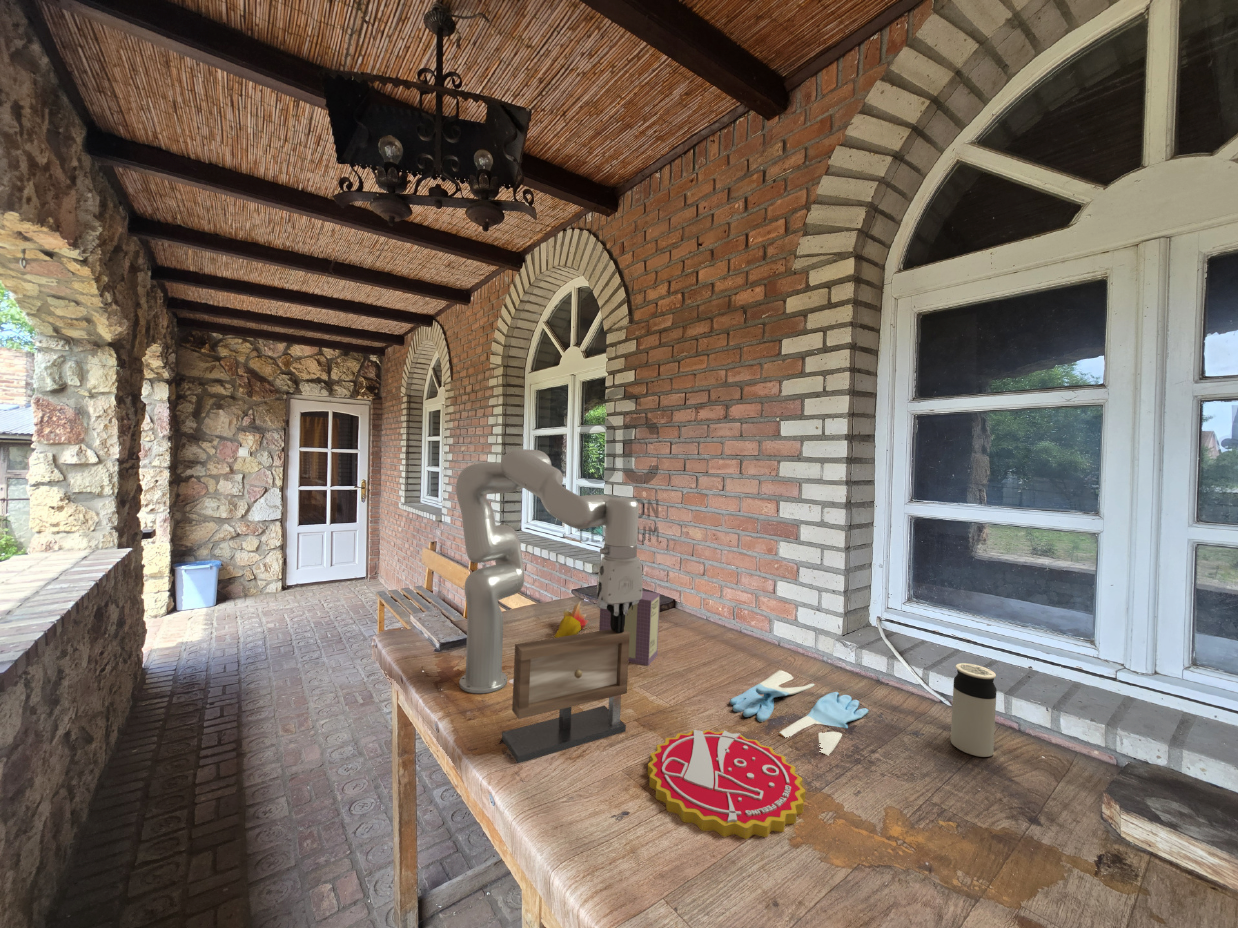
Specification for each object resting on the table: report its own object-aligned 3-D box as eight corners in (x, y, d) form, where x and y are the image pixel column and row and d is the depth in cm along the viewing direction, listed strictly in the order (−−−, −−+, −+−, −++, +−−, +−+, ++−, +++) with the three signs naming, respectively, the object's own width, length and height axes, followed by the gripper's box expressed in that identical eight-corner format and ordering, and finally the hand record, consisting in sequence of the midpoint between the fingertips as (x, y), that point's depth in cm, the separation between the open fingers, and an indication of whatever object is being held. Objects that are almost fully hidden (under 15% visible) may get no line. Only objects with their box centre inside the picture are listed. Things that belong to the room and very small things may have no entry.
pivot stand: (501, 738, 111) (504, 666, 111) (604, 711, 124) (606, 647, 124) (517, 763, 102) (520, 685, 102) (625, 731, 116) (628, 662, 116)
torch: (554, 659, 164) (575, 625, 188) (575, 651, 162) (594, 617, 186) (542, 637, 163) (565, 605, 188) (563, 628, 161) (583, 597, 186)
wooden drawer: (512, 710, 106) (515, 644, 105) (617, 686, 119) (620, 627, 119) (519, 720, 102) (522, 651, 102) (628, 694, 115) (631, 633, 115)
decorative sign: (658, 719, 117) (793, 739, 111) (657, 730, 117) (792, 751, 111) (637, 806, 88) (818, 840, 82) (636, 822, 88) (818, 856, 82)
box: (657, 655, 161) (660, 593, 161) (648, 665, 153) (650, 600, 152) (609, 645, 167) (611, 586, 167) (598, 655, 159) (600, 592, 159)
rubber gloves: (875, 708, 133) (876, 684, 133) (827, 759, 109) (829, 730, 109) (777, 674, 152) (778, 653, 151) (718, 711, 128) (720, 686, 128)
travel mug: (980, 761, 109) (985, 679, 109) (943, 742, 116) (947, 665, 116) (1000, 753, 113) (1004, 673, 113) (962, 734, 120) (966, 660, 120)
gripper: (600, 557, 109) (596, 641, 109) (656, 552, 117) (653, 631, 117) (584, 550, 115) (581, 630, 116) (638, 546, 123) (635, 621, 123)
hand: (617, 630), depth 116 cm, fingers closed
